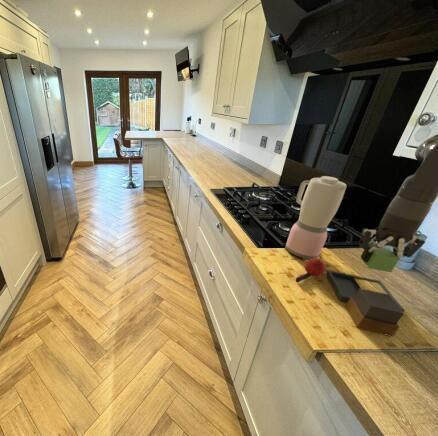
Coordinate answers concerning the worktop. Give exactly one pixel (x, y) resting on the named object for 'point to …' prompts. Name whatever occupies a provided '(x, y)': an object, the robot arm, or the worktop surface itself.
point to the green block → (382, 260)
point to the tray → (350, 286)
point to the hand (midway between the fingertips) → (376, 262)
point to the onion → (315, 267)
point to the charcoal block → (378, 306)
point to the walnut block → (369, 320)
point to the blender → (314, 216)
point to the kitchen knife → (303, 277)
